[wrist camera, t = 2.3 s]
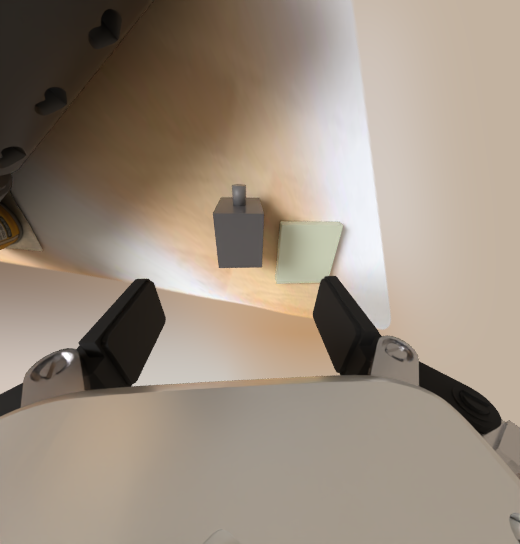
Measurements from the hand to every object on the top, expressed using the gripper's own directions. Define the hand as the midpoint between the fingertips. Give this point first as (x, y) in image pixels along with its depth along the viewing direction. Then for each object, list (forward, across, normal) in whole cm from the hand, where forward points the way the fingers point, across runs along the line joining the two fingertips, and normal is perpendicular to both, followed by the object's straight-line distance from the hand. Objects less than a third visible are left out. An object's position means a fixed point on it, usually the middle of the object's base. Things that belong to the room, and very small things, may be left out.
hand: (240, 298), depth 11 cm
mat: (+13, -8, +3) cm, 15 cm away
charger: (+13, 0, -1) cm, 13 cm away
